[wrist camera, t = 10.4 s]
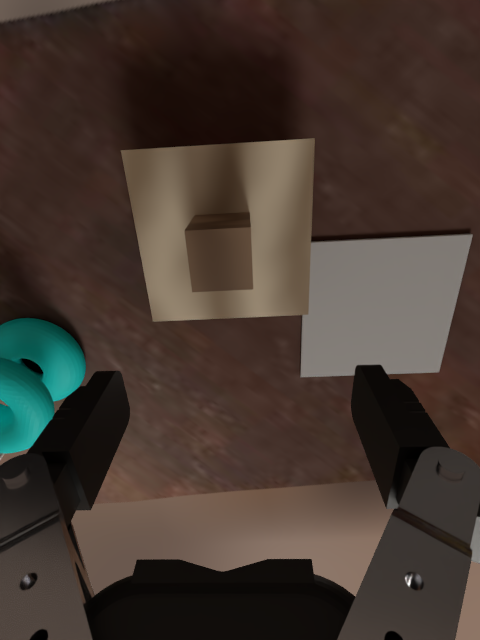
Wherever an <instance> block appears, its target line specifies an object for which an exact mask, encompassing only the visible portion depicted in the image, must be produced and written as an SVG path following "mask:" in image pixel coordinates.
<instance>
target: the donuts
mask: <svg viewBox="0 0 480 640" xmlns="http://www.w3.org/2000/svg"><path fill="white" fill-rule="evenodd" d="M22 358H23V359H29V360H32V361H34V362H35V363H37V364H38V365H39V366H40V367H41V369H42V371H43V374H41V373H37V372H35V371H32V370H31V369H29V368H28V367H27V366H26V365H25V364H24V363H23V361H22ZM85 371H86V363H85V358H84V354H83V352H82V350H81V348H80V346H79V344H78V343H77V342H76V340H75V339H74V338H73V337H72V336H71V335H70V334H69V333H68V332H66V331H65V330H64V329H62V328H61V327H59V326H57V325H55V324H53V323H51V322H48V321H45V320H41V319H35V318H19V319H14V320H11V321H8V322H6V323H4V324H2V325H0V399H1V400H2V401H3V402H5V403H6V404H7V405H8V406H5V405H2V404H0V453H14V452H19V451H23V450H26V449H28V448H30V447H32V445H33V444H34V442H35V441H36V440H37V438H38V437H39V435H40V434H41V433H42V431H43V430H44V428H45V427H46V426H47V424H48V423H49V421H50V420H52V419H53V416H54V403H53V402H54V401H58V400H61V399H63V398H65V397H67V396H69V395H70V394H71V393H72V392H74V391H75V390H76V389H77V388H78V387H79V386H80V384H81V383H82V381H83V379H84V375H85Z"/></svg>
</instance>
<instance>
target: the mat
mask: <svg viewBox="0 0 480 640" xmlns="http://www.w3.org/2000/svg"><path fill="white" fill-rule="evenodd" d="M472 236H473V235H472V234H453V235H433V236H412V237H392V238H372V239H352V240H332V241H311V256H310V284H309V311H308V315H302V332H301V365H300V376H301V377H320V376H348V375H354V374H355V368H356V366H357V365H378V364H380V365H381V366H382V367H383V369H384V370H385V372H386V374H403V373H431V372H439V370H440V366H441V361H442V357H443V353H444V349H445V345H446V341H447V337H448V333H449V329H450V325H451V321H452V317H453V313H454V309H455V305H456V301H457V297H458V292H459V288H460V284H461V280H462V276H463V272H464V268H465V264H466V260H467V256H468V252H469V248H470V244H471V240H472Z"/></svg>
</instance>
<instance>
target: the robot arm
mask: <svg viewBox="0 0 480 640" xmlns="http://www.w3.org/2000/svg"><path fill="white" fill-rule="evenodd" d="M351 411H352V417H353V421H354V423H355V426H356V429H357V431H358V434H359V437H360V439H361V442H362V445H363V447H364V450H365V453H366V455H367V458H368V461H369V463H370V466H371V469H372V471H373V474H374V477H375V479H376V482H377V485H378V487H379V490H380V493H381V496H382V498H383V501H384V503H385V506H386V508H387V509H394V510H393V512H392V514H391V516H390V519H389V521H388V524H387V526H386V528H385V530H384V533H383V535H382V537H381V539H380V542H379V544H378V546H377V549H376V551H375V553H374V556H373V558H372V560H371V563H370V565H369V567H368V570H367V572H366V574H365V576H364V579H363V581H362V583H361V586H360V588H359V590H358V592H357V595H356V597H355V596H354V595H353V594H351V593H350V592H348V591H347V590H346V589H344V588H343V587H341V586H340V585H338V584H336V583H335V582H333V581H331V580H328V579H326V578H324V577H321V576H318V575H315V574H314V573H313V566H312V560H311V559H267V560H264V561H260V562H257V563H254V564H250V565H246V566H243V567H239V568H236V569H233V570H229V571H225V572H220V571H216V570H212V569H209V568H206V567H203V566H199V565H195V564H193V563H189V562H186V561H183V560H137V561H136V565H135V569H134V573H133V575H132V576H129V577H126V578H124V579H122V580H119V581H117V582H115V583H113V584H112V585H110V586H108V587H106V588H105V589H103V590H102V591H100V592H99V593H98V594H96V595H95V594H94V591H93V589H92V586H91V583H90V580H89V577H88V573H87V571H86V567H85V564H84V560H83V557H82V554H81V551H80V548H79V544H78V541H77V538H76V535H75V531H74V528H73V525H72V523H71V520H72V518H73V515H74V513H75V511H76V510H91V508H92V506H93V504H94V502H95V499H96V497H97V495H98V492H99V490H100V488H101V485H102V483H103V481H104V478H105V476H106V474H107V471H108V469H109V467H110V464H111V462H112V460H113V457H114V455H115V453H116V450H117V448H118V446H119V444H120V441H121V439H122V437H123V434H124V432H125V430H126V427H127V425H128V422H129V417H130V407H129V402H128V398H127V394H126V390H125V386H124V382H123V377H122V374H121V372H120V371H97V372H95V373H94V374H93V376H92V377H91V379H90V380H89V382H88V383H87V385H86V386H80V387H79V388H78V389H76V390H75V391H74V392H72V393H71V394H70V395H69V396H67V398H66V399H65V400H64V402H63V403H62V405H61V406H60V407H59V410H57V412H56V413H55V414H54V416H53V419H52V420H50V421H49V423H48V424H47V426H46V427H45V428H44V430H43V431H42V433H41V434H40V435H39V437H38V438H37V440H36V441H35V442H34V444H33V445H32V447H31V448H30V449H29V451H28V452H27V454H23V455H19V456H17V457H14V458H12V459H10V460H8V461H6V462H5V463H3V464H2V465H0V640H455V638H456V632H457V628H458V622H459V618H460V613H461V608H462V603H463V598H464V594H465V589H466V584H467V579H468V574H469V569H470V564H471V561H473V562H476V563H480V468H479V467H478V465H477V464H476V463H475V462H474V461H473V460H471V459H470V458H469V457H467V456H466V455H464V454H462V453H461V452H458V451H456V450H453V449H450V447H449V446H448V444H447V443H446V441H445V440H444V438H443V437H442V435H441V434H440V432H439V431H438V429H437V427H436V426H435V424H434V423H433V421H432V420H431V418H430V417H429V415H428V414H427V413H425V409H424V408H423V406H422V405H421V403H419V400H418V398H417V397H416V395H415V394H414V392H413V391H412V389H411V388H409V387H408V386H407V385H405V384H404V383H403V382H401V381H400V380H399V379H389V377H388V375H387V374H386V372H385V370H384V369H383V367H382V366H381V365H380V364H378V365H357V366H356V368H355V374H354V382H353V391H352V399H351Z"/></svg>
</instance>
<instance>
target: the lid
mask: <svg viewBox="0 0 480 640" xmlns="http://www.w3.org/2000/svg"><path fill="white" fill-rule="evenodd" d="M314 145H315V138H312V139H296V140H280V141H264V142H248V143H232V144H216V145H200V146H184V147H168V148H152V149H136V150H121V153H122V159H123V164H124V169H125V175H126V180H127V185H128V190H129V196H130V201H131V206H132V212H133V217H134V222H135V228H136V233H137V238H138V244H139V249H140V254H141V259H142V265H143V270H144V275H145V281H146V286H147V291H148V297H149V302H150V307H151V312H152V318H153V322H154V321H176V320H199V319H221V318H244V317H266V316H288V315H308V311H309V284H310V256H311V228H312V201H313V173H314Z"/></svg>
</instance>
